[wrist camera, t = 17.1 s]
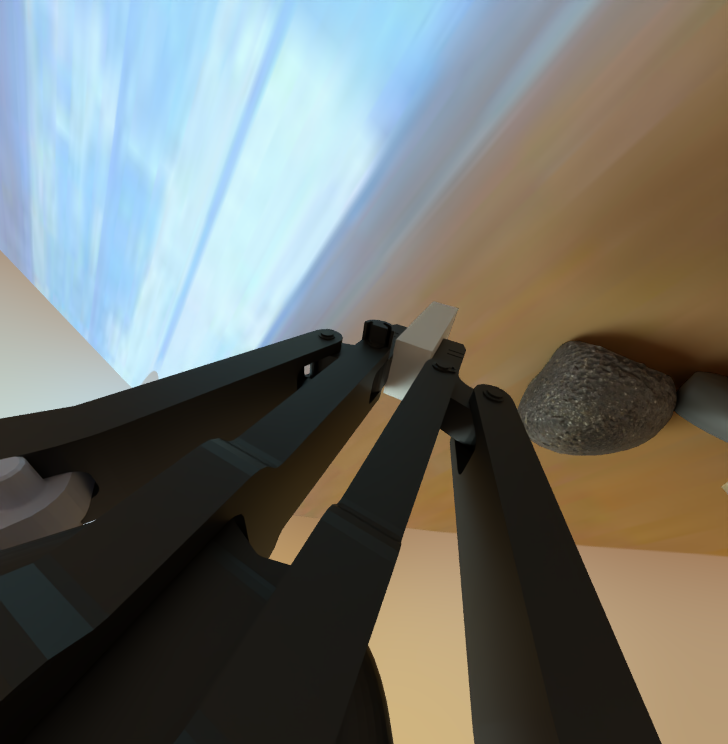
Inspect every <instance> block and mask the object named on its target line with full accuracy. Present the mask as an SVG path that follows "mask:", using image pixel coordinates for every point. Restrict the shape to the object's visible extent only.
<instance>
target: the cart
mask: <svg viewBox="0 0 728 744" xmlns="http://www.w3.org/2000/svg"><path fill="white" fill-rule="evenodd" d="M676 395H677V400H676V407H675V409H674V411H675V412H676V413H677V414H679V415H680V416H681V417H683V418H684V419H686V420H687V421H689V422H690V423H692V424H693V425H695V426H697V427H698V428H700V429H702V430H704V431H706V432H707V433H709V434H711V435H713V436H715V437H717V438H719V439H721V440H723V441H726V442H728V377H726V376H722V375H718V374H713V373H708V372H695V373H694V374H693V375H692V376H691V377H690V378H689V379H688V380H687V381H686V382H685V383H684V384H683V385H682V387H681V388H680V389H679V390H678V391H677V392H676ZM721 487H722V488H723V489H724V490H725V491H726V493H727V494H728V482H727V483H726V484H724V485H723V486H721Z"/></svg>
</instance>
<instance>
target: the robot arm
mask: <svg viewBox="0 0 728 744" xmlns="http://www.w3.org/2000/svg"><path fill="white" fill-rule="evenodd" d="M457 311H458V308H455V307H452V306H448V305H445V304H441V303H437V302H434V301H433V302H432V303H431V304H430V305H429V306H428V307H427V308H426V309H425V310H424V311H423V312H422V313H421V315H420V316H419V317H418V318H417V319H416V320H415V321H414V322H413V323H412V324H411V325H410V326H409V327H408V328H407V327H404V326H401V325H398V324H395V325H391V324H390V323H387V322H385V321H380V320H368V321H365V323H364V330H363V336H362V340H361V341H359V342H358V343H357V344H356V345H350V344H345V343H342V339H343V337H342V335H341V334H340V333H338V332H336V331H334V330H330V329H321V330H316V331H313V332H309V333H306V334H303V335H300V336H297V337H293V338H290V339H287V340H284V341H281V342H277V343H274V344H271V345H268V346H265V347H261V348H258V349H255V350H252V351H249V352H246V353H242V354H239V355H236V356H233V357H230V358H226V359H223V360H220V361H217V362H214V363H210V364H207V365H204V366H201V367H198V368H194V369H191V370H188V371H185V372H182V373H178V374H175V375H172V376H169V377H166V378H162V379H159V380H156V381H153V382H150V383H146V384H143V385H140V386H137V387H134V388H131V389H127V390H124V391H121V392H118V393H115V394H111V395H108V396H105V397H102V398H98V399H96V400H92V401H89V402H86V403H83V404H79V405H76V406H72V407H66V408H61V409H55V410H48V411H43V412H37V413H31V414H25V415H19V416H13V417H7V418H2V419H0V744H393V737H392V731H391V725H390V718H389V712H388V706H387V701H386V697H385V692H384V688H383V684H382V680H381V677H380V674H379V671H378V668H377V665H376V662H375V659H374V657H373V655H372V653H371V650H370V648H369V646H368V643H369V640H370V637H371V634H372V631H373V628H374V625H375V623H376V620H377V617H378V613H379V611H380V608H381V605H382V602H383V599H384V596H385V593H386V590H387V587H388V584H389V581H390V578H391V575H392V572H393V569H394V566H395V563H396V560H397V557H398V554H399V551H400V547H401V540H402V537H403V534H404V531H405V528H406V525H407V522H408V520H409V517H410V514H411V511H412V508H413V505H414V502H415V499H416V496H417V493H418V490H419V488H420V485H421V482H422V479H423V476H424V473H425V470H426V467H427V464H428V461H429V459H430V456H431V453H432V450H433V447H434V444H435V441H436V438H437V435H438V432H439V430H440V429H441V430H442V431H444V432H445V433H447V434H448V435H450V436H451V439H450V450H451V463H452V475H453V488H454V500H455V513H456V525H457V536H458V550H459V563H460V575H461V588H462V600H463V613H464V624H465V637H466V650H467V662H468V675H469V687H470V700H471V712H472V724H473V734H474V743H475V744H662V743H661V741H660V739H659V737H658V734H657V732H656V730H655V727H654V725H653V723H652V720H651V718H650V716H649V713H648V711H647V709H646V706H645V704H644V702H643V700H642V697H641V695H640V693H639V691H638V688H637V686H636V683H635V681H634V679H633V676H632V674H631V672H630V669H629V667H628V665H627V663H626V660H625V658H624V656H623V653H622V651H621V649H620V646H619V644H618V642H617V639H616V637H615V635H614V632H613V630H612V628H611V625H610V623H609V621H608V619H607V617H606V614H605V612H604V609H603V607H602V605H601V603H600V600H599V598H598V595H597V593H596V591H595V588H594V586H593V584H592V582H591V579H590V577H589V575H588V572H587V570H586V568H585V565H584V563H583V561H582V558H581V556H580V554H579V551H578V549H577V547H576V545H575V542H574V540H573V538H572V535H571V533H570V531H569V528H568V526H567V524H566V521H565V519H564V517H563V514H562V512H561V510H560V508H559V505H558V503H557V501H556V498H555V496H554V494H553V491H552V489H551V487H550V484H549V482H548V480H547V477H546V475H545V473H544V471H543V468H542V466H541V464H540V461H539V459H538V457H537V454H536V452H535V450H534V447H533V445H532V443H531V440H530V438H529V436H528V434H527V431H526V429H525V427H524V424H523V422H522V420H521V417H520V415H519V413H518V410H517V408H516V406H515V403H514V401H513V399H512V398H511V397H510V395H508V394H507V393H506V392H505V391H504V390H502V389H499V388H498V387H496V386H491V385H486V384H481V385H477V386H476V387H475V388H474V389H473V388H471V387H469V386H468V385H466V384H465V383H464V382H462V381H461V379H460V378H459V376H458V374H459V369H460V366H461V363H462V360H463V358H464V355H465V352H466V349H465V347H464V345H463V344H460V343H457V342H454V341H450V340H447V339H448V336H449V334H450V331H451V328H452V325H453V322H454V320H455V317H456V314H457ZM309 364H310V373H309V374H307V375H305V374H304V366H306V365H309ZM384 385H385V388H384V393H385V394H388V395H390V396H393V397H395V398H397V399H400V400H402V401H401V403H400V404H399V406H398V408H397V409H396V411H395V413H394V414H393V416H392V417H391V419H390V421H389V422H388V424H387V426H386V427H385V429H384V430H383V432H382V434H381V435H380V437H379V439H378V440H377V442H376V443H375V445H374V447H373V448H372V450H371V452H370V453H369V455H368V456H367V458H366V460H365V461H364V463H363V465H362V466H361V468H360V469H359V471H358V473H357V474H356V476H355V478H354V479H353V481H352V482H351V484H350V486H349V487H348V489H347V491H346V492H345V494H344V495H343V497H342V498H341V500H340V501H339V502H338V503H337V504H332V505H331V506H330V507H329V508H328V509H327V511H326V512H325V514H324V515H323V516H322V518H321V519H320V521H319V522H318V524H317V525H316V527H315V529H314V530H313V532H312V533H311V535H310V536H309V538H308V539H307V541H306V542H305V544H304V546H303V547H302V549H301V550H300V552H299V553H298V555H297V556H296V558H295V560H294V561H293V563H292V564H291V565H288V564H284V563H281V562H278V561H274V560H271V559H268V558H269V557H270V555H271V553H272V551H273V549H274V548H275V545H276V542H277V540H278V537H279V535H280V533H281V531H282V529H283V528H284V526H285V525H286V523H287V522H288V521H289V519H290V518H291V517H292V515H293V514H294V513H295V511H296V510H297V509H298V507H299V506H300V504H301V503H302V502H303V500H304V499H305V498H306V496H307V495H308V494H309V492H310V491H311V490H312V488H313V487H314V486H315V484H316V483H317V482H318V480H319V479H320V478H321V476H322V475H323V473H324V472H325V471H326V469H327V468H328V467H329V465H330V464H331V463H332V461H333V460H334V459H335V457H336V456H337V455H338V453H339V452H340V451H341V449H342V448H343V446H344V445H345V444H346V442H347V441H348V440H349V438H350V437H351V436H352V434H353V433H354V432H355V430H356V429H357V428H358V426H359V425H360V424H361V422H362V421H363V419H364V418H365V417H366V415H367V414H368V413H369V411H370V410H371V409H372V407H373V406H374V405H375V403H376V402H377V401H378V399H379V397H380V394H381V390H382V388H383V386H384ZM93 520H95V521H93ZM91 521H93V522H91ZM88 522H91V523H88ZM85 523H88V524H85ZM83 524H84V525H83Z"/></svg>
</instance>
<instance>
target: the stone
mask: <svg viewBox="0 0 728 744" xmlns="http://www.w3.org/2000/svg"><path fill="white" fill-rule="evenodd" d="M676 400H677V395H676V389H675V384H674V382H673V380H672V378H671V377H670V376H668V375H665V374H664V373H661V372H659V371H656V370H653V369H650V368H647V367H646V366H645V365H644V364H642V363H638V362H635V361H633V360H630V359H628V358H626V357H623V356H621V355H619V354H616V353H614V352H611V351H609V350H607V349H605V348H603V347H601V346H596V345H592V344H587V343H584V342H581V341H569V342H567V343H564V344H562V345H561V346H560V347H559V348H558V349H557V350H556V351H555V353H554V354H553V356H552V357H551V359H550V360H549V361H548V363H547V364H546V365H545V367H544V368H543V369H542V371H541V372H540V373H539V374H538V375H537V376H536V377H535V378H534V379H533V380H532V381H531V382H530V384H529V385H528V387H527V389H526V391H525V393H524V395H523V397H522V399H521V402H520V404H519V407H518V413H519V415H520V417H521V420H522V422H523V424H524V427H525V429H526V431H527V434H528V436H529V438H530V439H531V441H533V442H534V443H536V444H538V445H539V446H541V447H544V448H546V449H549V450H552V451H554V452H557V453H563V454H569V455H603V454H609V453H615V452H619V451H624V450H628V449H631V448H634V447H637V446H639V445H641V444H643V443H645V442H647V441H648V440H650V439H651V438H653V437H654V436H655V435H656V434H657V433H658V432H659V431H660V430H661V429H662V428H663V427H664V426H665V425H666V424H667V423H668V421H669V420H670V418H671V417H672V415H673V412H674V409H675V407H676Z"/></svg>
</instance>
